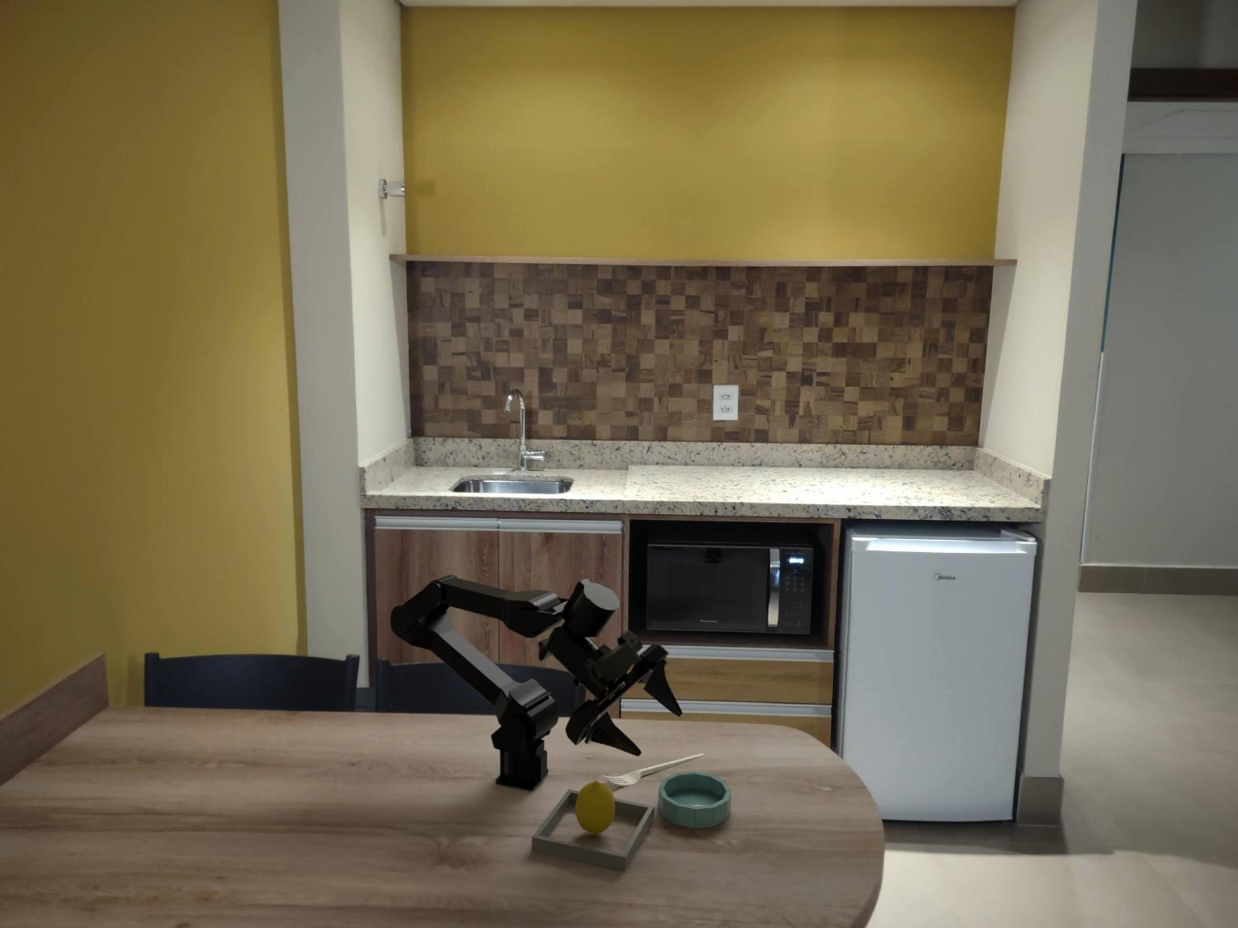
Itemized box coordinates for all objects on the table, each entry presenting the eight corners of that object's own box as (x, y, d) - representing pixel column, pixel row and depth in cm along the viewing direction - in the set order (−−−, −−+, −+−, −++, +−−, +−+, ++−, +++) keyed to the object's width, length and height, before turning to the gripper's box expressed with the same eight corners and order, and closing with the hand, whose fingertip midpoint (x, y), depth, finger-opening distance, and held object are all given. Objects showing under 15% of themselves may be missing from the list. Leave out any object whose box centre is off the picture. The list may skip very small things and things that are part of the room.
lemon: (610, 847, 127) (611, 794, 125) (571, 842, 128) (571, 789, 126) (618, 825, 132) (619, 774, 131) (580, 820, 133) (581, 769, 132)
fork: (710, 762, 152) (711, 751, 152) (610, 793, 141) (610, 782, 141) (697, 754, 155) (698, 743, 155) (598, 784, 144) (598, 773, 144)
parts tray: (531, 850, 126) (531, 836, 125) (568, 801, 138) (568, 789, 138) (625, 870, 122) (625, 857, 121) (654, 818, 134) (654, 805, 134)
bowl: (650, 819, 134) (651, 800, 133) (669, 784, 144) (670, 766, 143) (721, 833, 131) (721, 813, 130) (735, 797, 140) (736, 778, 140)
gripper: (549, 666, 124) (633, 749, 119) (638, 594, 135) (718, 668, 130) (534, 705, 132) (612, 785, 126) (619, 635, 143) (694, 705, 138)
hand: (661, 734), depth 130 cm, fingers open, 9 cm apart
